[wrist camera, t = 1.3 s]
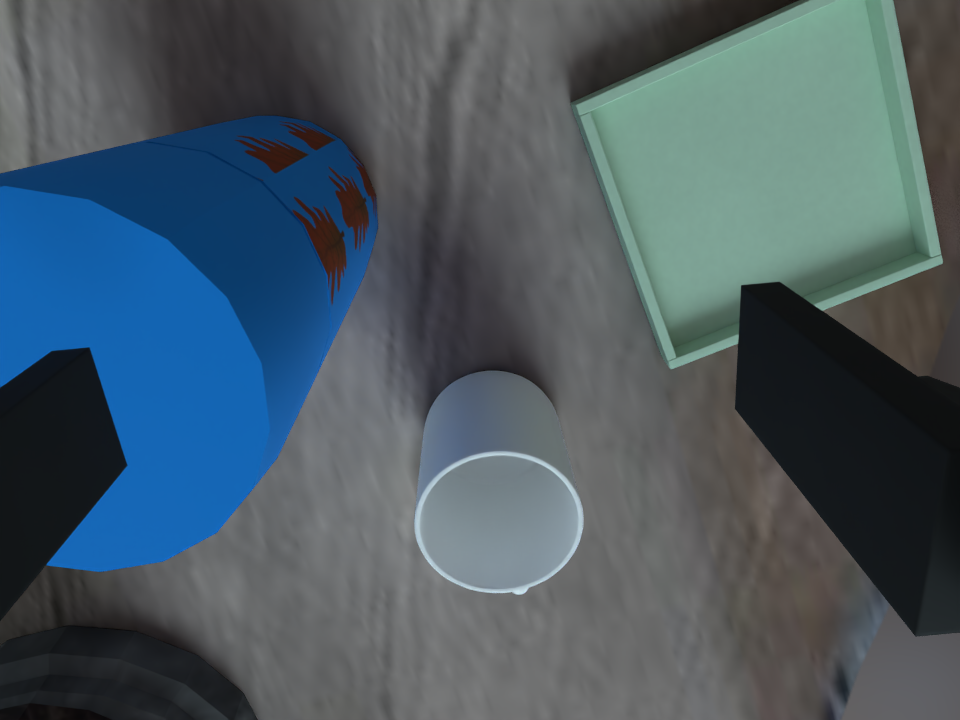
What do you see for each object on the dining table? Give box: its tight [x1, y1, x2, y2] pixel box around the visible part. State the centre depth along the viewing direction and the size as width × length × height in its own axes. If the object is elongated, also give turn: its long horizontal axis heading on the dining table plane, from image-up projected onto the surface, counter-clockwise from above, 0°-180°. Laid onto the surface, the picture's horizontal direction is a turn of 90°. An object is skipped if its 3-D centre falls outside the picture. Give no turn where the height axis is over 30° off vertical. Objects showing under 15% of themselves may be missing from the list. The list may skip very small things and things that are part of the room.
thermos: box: [0, 116, 378, 572], centre depth 30 cm, size 11×11×25 cm
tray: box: [571, 0, 943, 369], centre depth 40 cm, size 16×16×2 cm
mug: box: [414, 371, 584, 595], centre depth 42 cm, size 9×12×11 cm
